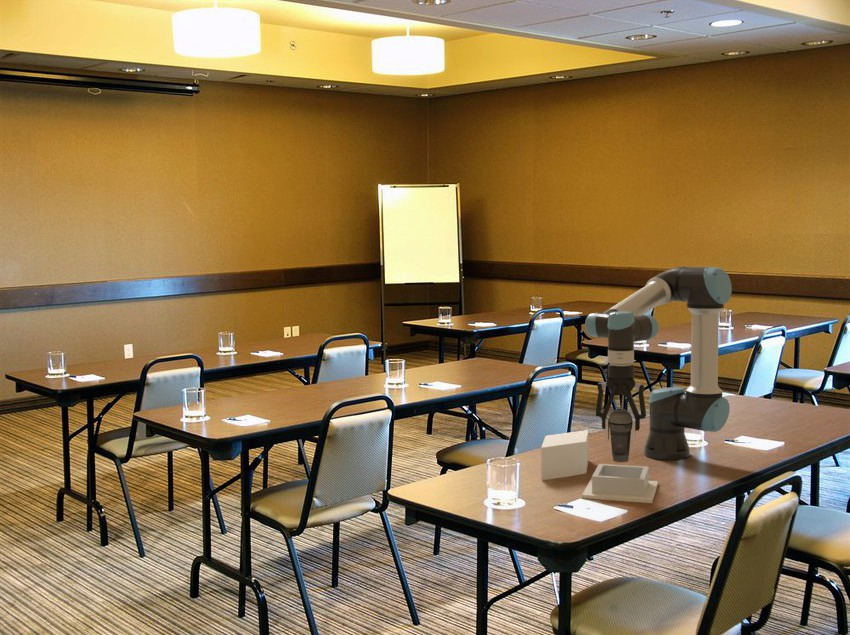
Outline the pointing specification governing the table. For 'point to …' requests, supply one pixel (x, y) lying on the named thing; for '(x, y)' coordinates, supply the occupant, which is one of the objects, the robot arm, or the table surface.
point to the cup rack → (621, 484)
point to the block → (564, 455)
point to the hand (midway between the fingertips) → (620, 440)
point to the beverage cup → (620, 433)
